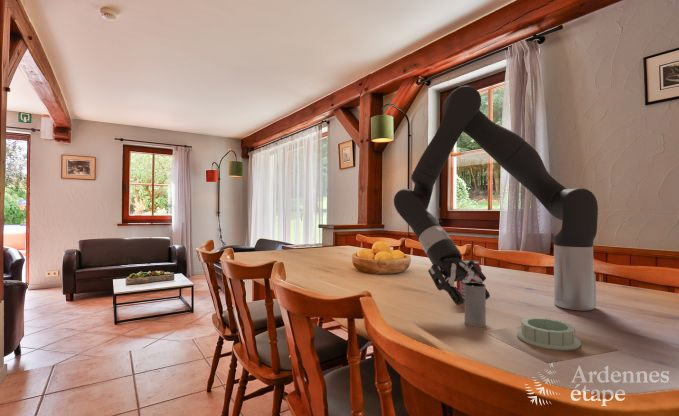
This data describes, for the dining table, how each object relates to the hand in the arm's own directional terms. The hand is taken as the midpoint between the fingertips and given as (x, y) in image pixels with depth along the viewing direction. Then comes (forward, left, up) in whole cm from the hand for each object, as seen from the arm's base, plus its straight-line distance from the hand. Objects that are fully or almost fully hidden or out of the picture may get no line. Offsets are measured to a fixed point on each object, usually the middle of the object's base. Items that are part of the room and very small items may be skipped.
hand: (474, 300), depth 80 cm
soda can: (-14, -20, -7) cm, 25 cm away
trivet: (-7, +13, -6) cm, 16 cm away
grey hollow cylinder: (0, 0, -7) cm, 7 cm away
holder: (-7, +13, -5) cm, 16 cm away
